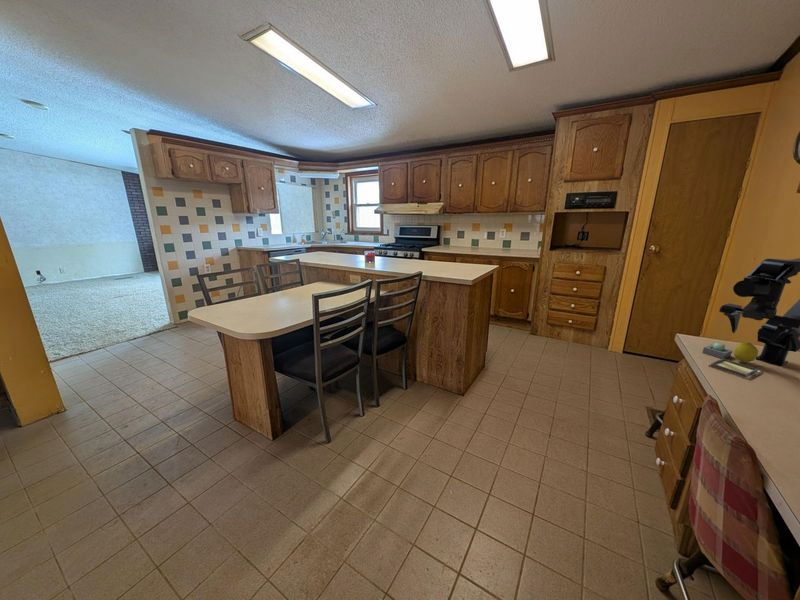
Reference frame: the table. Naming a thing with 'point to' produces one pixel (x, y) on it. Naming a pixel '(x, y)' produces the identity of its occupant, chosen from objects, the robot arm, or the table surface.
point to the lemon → (745, 352)
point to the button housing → (717, 352)
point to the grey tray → (736, 369)
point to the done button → (718, 347)
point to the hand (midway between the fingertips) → (751, 337)
